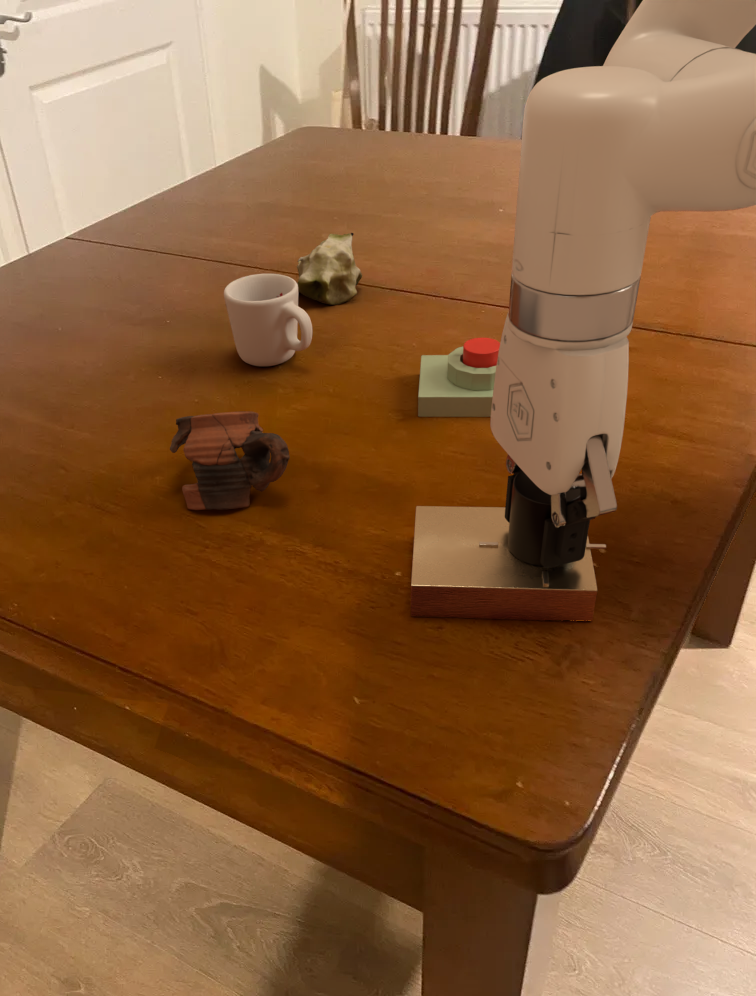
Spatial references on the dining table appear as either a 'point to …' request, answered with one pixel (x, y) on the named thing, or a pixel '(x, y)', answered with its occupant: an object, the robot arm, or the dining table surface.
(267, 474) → the pottery mug
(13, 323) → the dining table surface
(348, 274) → the beige lumpy stone
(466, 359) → the button
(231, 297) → the cup
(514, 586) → the panel
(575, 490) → the hob knob
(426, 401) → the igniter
